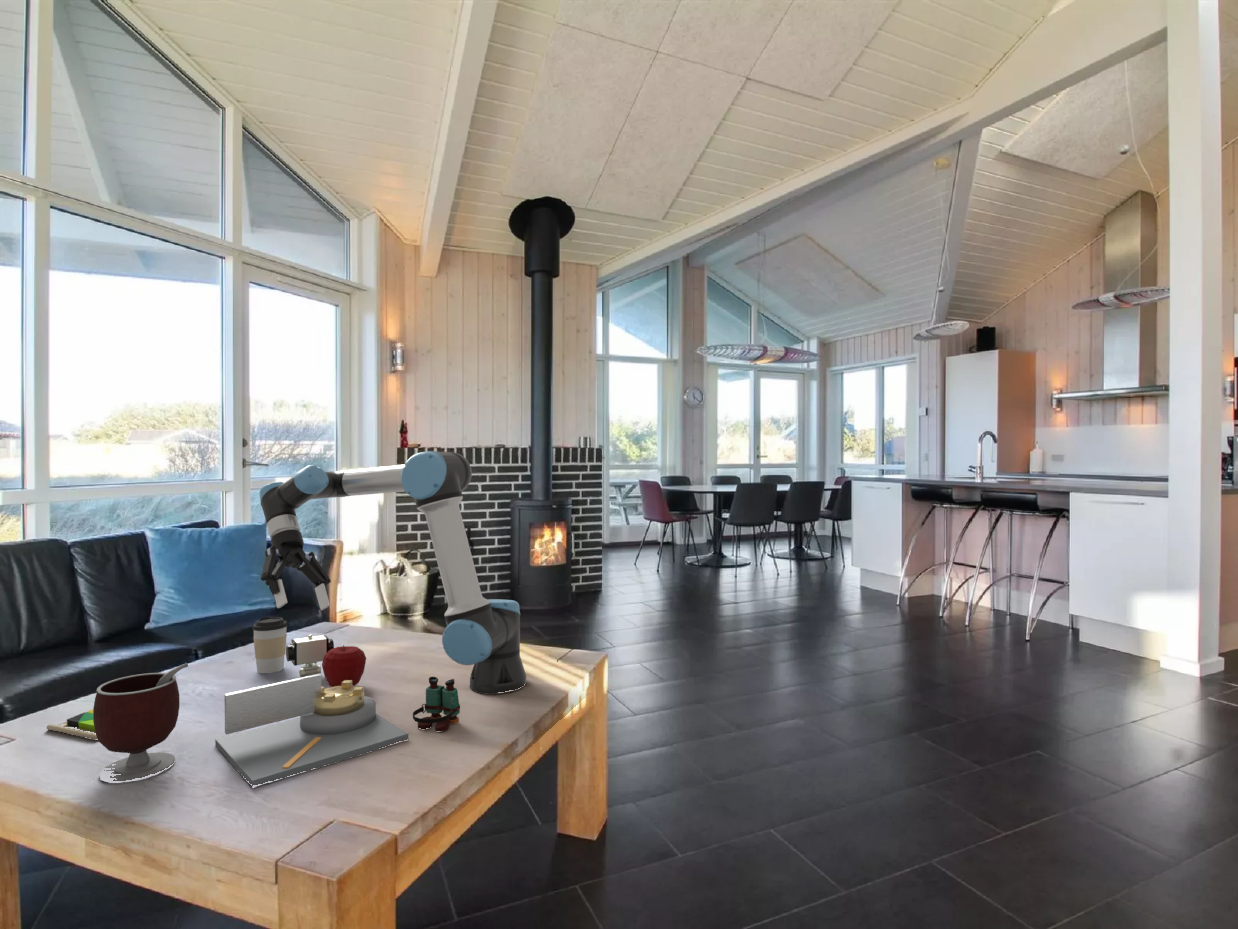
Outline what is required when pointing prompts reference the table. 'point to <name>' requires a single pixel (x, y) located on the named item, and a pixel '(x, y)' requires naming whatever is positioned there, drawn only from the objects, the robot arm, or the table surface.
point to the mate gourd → (137, 720)
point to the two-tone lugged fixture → (289, 702)
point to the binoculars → (439, 706)
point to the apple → (343, 665)
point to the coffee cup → (270, 644)
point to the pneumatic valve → (308, 653)
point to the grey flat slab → (307, 743)
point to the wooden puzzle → (78, 725)
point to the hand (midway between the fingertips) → (304, 606)
